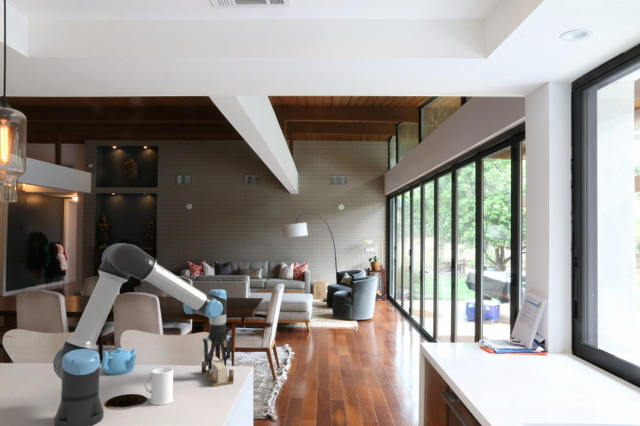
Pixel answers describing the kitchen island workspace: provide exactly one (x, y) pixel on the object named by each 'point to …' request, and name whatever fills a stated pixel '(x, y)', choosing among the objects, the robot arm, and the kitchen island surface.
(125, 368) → the teapot
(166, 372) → the mug
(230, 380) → the rack
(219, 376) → the beige long block
